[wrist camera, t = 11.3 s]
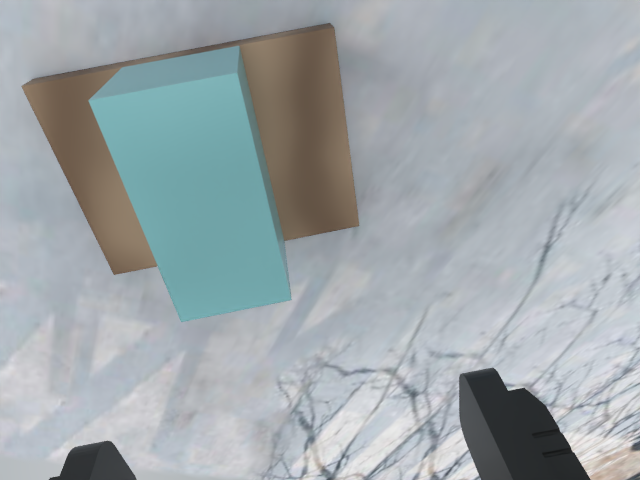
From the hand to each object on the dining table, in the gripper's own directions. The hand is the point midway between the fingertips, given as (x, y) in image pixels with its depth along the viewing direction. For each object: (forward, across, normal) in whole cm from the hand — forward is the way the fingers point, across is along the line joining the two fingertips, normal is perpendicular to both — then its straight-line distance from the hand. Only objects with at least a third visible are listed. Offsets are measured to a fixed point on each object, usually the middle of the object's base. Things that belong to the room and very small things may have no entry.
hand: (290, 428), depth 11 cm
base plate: (+20, +4, +1) cm, 21 cm away
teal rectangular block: (+19, +4, +1) cm, 19 cm away
